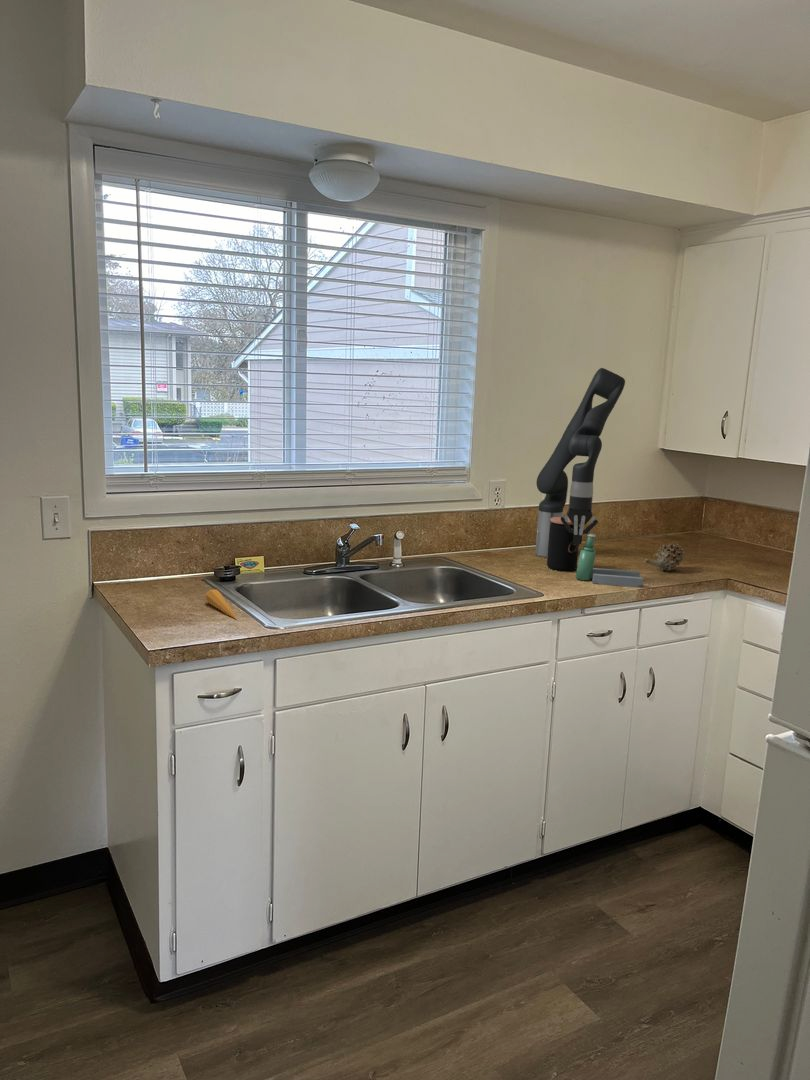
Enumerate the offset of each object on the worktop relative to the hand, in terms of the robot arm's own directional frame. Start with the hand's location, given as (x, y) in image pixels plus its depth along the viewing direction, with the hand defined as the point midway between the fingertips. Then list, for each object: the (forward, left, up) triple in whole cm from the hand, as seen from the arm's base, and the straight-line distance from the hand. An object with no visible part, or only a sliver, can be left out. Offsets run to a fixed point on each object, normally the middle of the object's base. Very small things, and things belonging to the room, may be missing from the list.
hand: (577, 545), depth 279 cm
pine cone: (+32, +22, -12) cm, 41 cm away
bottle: (+3, 0, -11) cm, 12 cm away
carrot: (-98, -72, -12) cm, 122 cm away
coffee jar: (-4, +14, -12) cm, 19 cm away
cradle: (+14, 0, -12) cm, 18 cm away
